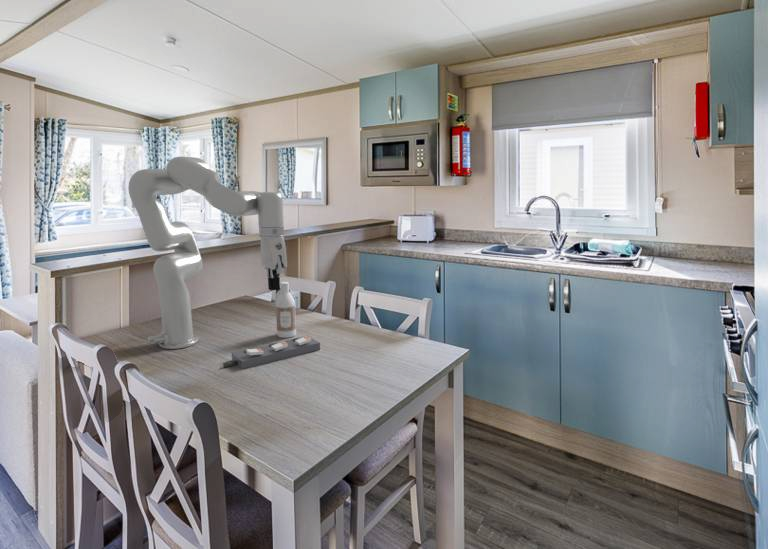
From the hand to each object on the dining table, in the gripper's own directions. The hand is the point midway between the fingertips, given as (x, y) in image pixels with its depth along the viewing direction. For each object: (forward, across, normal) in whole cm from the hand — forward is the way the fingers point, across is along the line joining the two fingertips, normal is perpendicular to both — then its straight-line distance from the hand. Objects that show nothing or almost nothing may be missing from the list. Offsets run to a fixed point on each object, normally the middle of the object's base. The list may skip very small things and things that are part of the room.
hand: (274, 289), depth 145 cm
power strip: (+22, 0, +2) cm, 22 cm away
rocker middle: (+19, -2, 0) cm, 19 cm away
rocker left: (+19, -2, +8) cm, 21 cm away
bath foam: (+22, +16, -11) cm, 30 cm away
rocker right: (+19, -2, -8) cm, 21 cm away
